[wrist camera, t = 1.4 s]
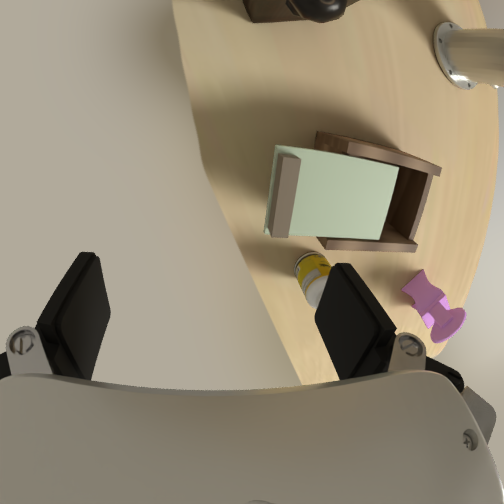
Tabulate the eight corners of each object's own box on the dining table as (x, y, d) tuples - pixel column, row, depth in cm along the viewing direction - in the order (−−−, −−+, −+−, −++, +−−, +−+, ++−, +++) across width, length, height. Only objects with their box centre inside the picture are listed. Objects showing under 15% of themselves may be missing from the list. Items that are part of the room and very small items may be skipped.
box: (401, 151, 33) (441, 167, 26) (382, 223, 39) (415, 252, 32) (316, 131, 31) (349, 141, 23) (301, 216, 37) (325, 249, 29)
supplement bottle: (332, 264, 42) (358, 304, 34) (306, 285, 43) (326, 328, 35) (314, 244, 39) (339, 283, 31) (286, 266, 41) (304, 310, 33)
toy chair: (409, 310, 52) (443, 358, 39) (397, 292, 48) (436, 345, 35) (435, 286, 50) (473, 331, 37) (426, 265, 46) (471, 313, 33)
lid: (395, 165, 26) (409, 172, 24) (376, 237, 30) (387, 248, 28) (275, 144, 24) (282, 148, 21) (263, 231, 28) (268, 243, 26)
